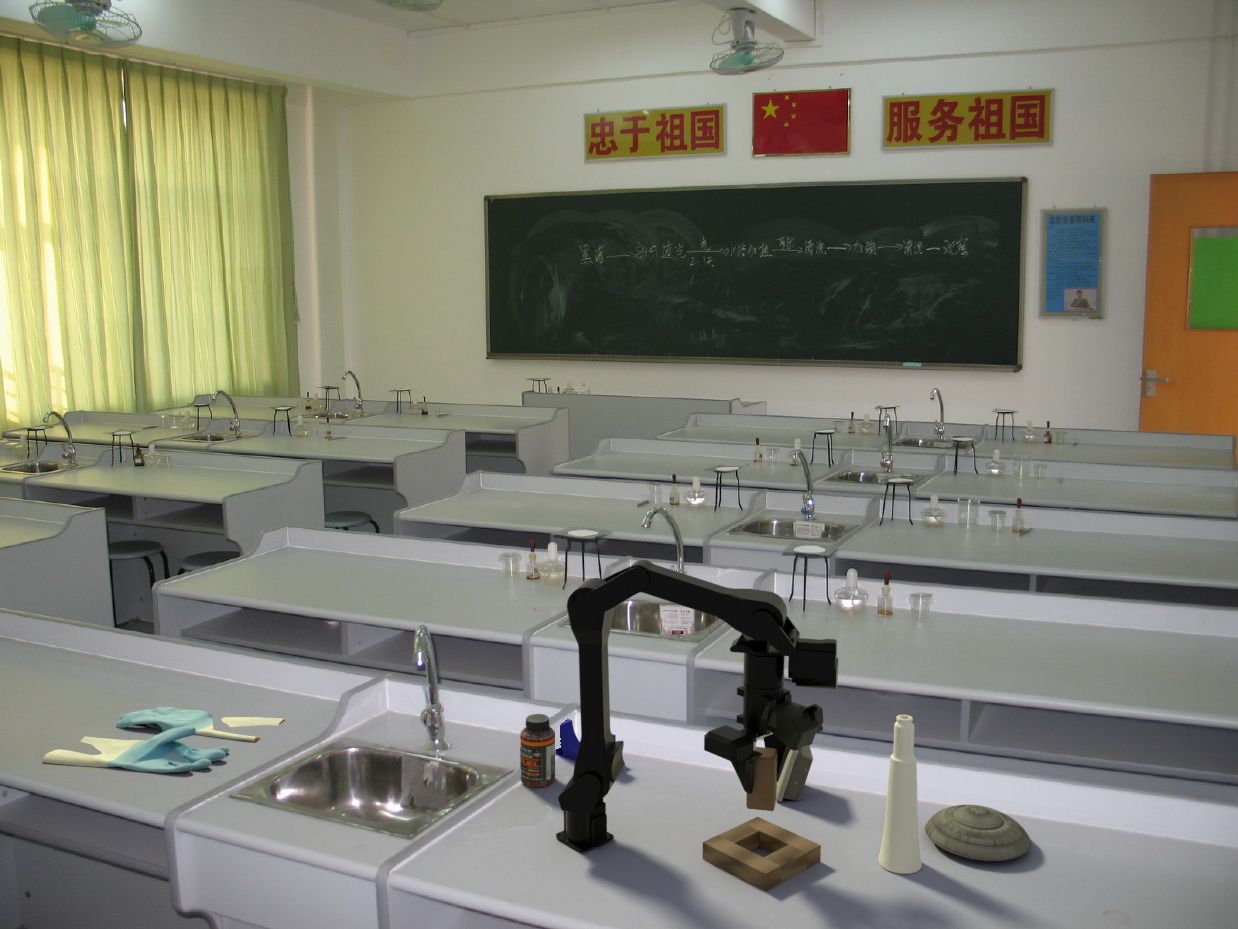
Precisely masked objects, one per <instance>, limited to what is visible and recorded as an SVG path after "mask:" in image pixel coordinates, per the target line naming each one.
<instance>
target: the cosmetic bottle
mask: <svg viewBox="0 0 1238 929" xmlns="http://www.w3.org/2000/svg"><path fill="white" fill-rule="evenodd" d="M895 718H896V721H895V722H894V725H893V749H892V750H893V753H891V754H890V756H889V765H888V777H887V788H886V802H885V803H886V805H885V815H884V824H883V832H882V833H883V834H882V839H881V845H880V846H881V847H880V850H879V855H878V863H879V865H880V866H881V867H882V868H883V869H884V870H886V871H888V872H891V873H894V874H899V875H910V874H915V873H917V872H919V871H920V870H921V869H922V866H923V863H922V857H921V850H920V840H919V839H920V838H919V818H918V817H919V816H918V814H919V812H918V768H917V766H918V765H917V764H918V763H917V757H916V756H915V755H914V753H915V751H914V748H915V725H914V723H913V720H914V719H913V716H911V715H908V714H898V715H896V717H895Z"/></svg>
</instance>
